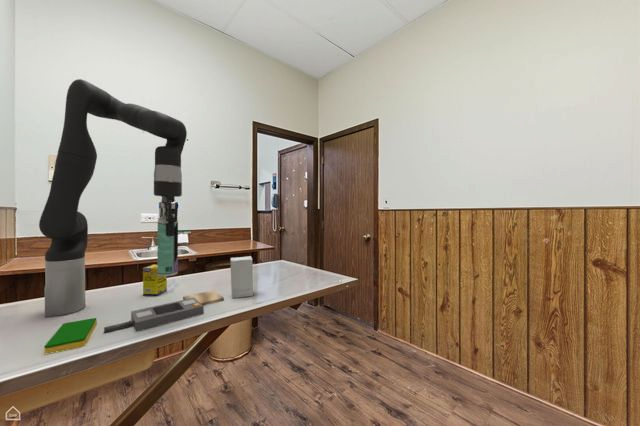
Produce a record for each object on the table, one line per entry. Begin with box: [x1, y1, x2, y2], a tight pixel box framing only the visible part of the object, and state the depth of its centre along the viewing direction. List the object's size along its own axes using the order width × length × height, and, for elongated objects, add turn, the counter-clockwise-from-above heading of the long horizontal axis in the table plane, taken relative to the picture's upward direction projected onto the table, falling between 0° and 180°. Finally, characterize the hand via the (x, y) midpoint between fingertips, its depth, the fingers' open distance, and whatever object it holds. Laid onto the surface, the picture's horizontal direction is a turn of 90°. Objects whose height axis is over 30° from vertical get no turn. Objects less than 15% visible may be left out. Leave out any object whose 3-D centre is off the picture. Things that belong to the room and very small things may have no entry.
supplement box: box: [142, 264, 168, 297], centre depth 100 cm, size 6×6×11 cm
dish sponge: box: [43, 317, 98, 355], centre depth 67 cm, size 7×14×2 cm, turn 32°
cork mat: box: [182, 289, 225, 306], centre depth 94 cm, size 11×11×1 cm
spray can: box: [157, 216, 179, 277], centre depth 79 cm, size 6×6×20 cm
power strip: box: [103, 298, 205, 333], centre depth 78 cm, size 24×10×3 cm, turn 133°
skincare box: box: [230, 255, 254, 299], centre depth 100 cm, size 8×6×15 cm
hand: (167, 234), depth 79 cm, fingers closed on spray can, 5 cm apart
